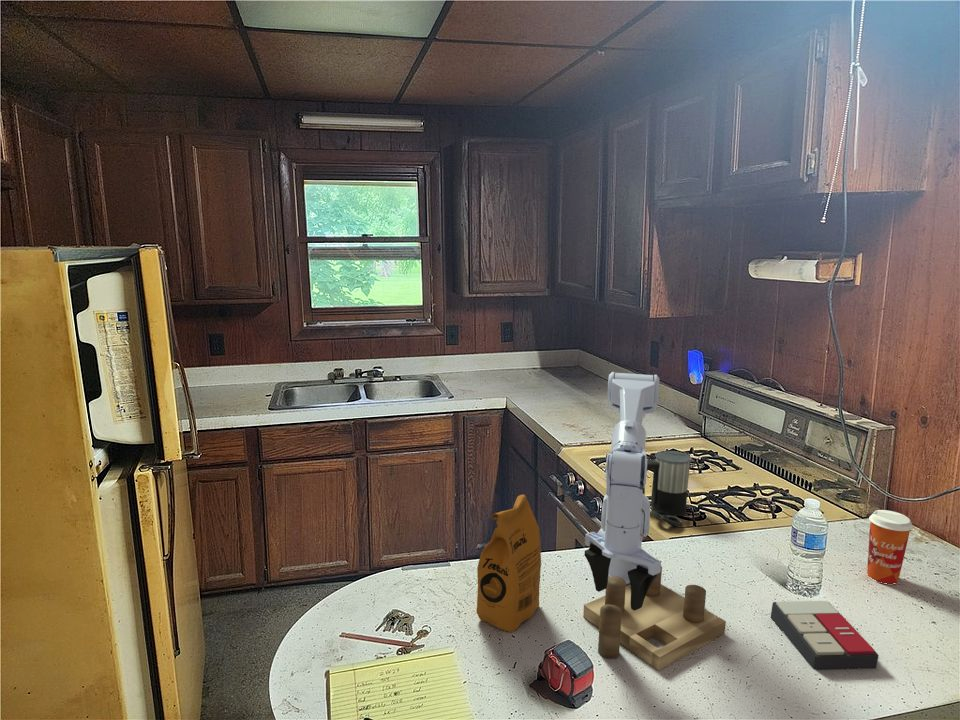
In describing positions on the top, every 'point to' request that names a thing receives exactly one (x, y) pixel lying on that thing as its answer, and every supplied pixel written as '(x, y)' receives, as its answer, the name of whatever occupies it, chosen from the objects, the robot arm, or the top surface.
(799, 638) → the calculator
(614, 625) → the loose leg
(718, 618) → the wooden peg board
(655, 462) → the milk frother
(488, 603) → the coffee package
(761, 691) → the top surface
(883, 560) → the paper cup
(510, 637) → the top surface
